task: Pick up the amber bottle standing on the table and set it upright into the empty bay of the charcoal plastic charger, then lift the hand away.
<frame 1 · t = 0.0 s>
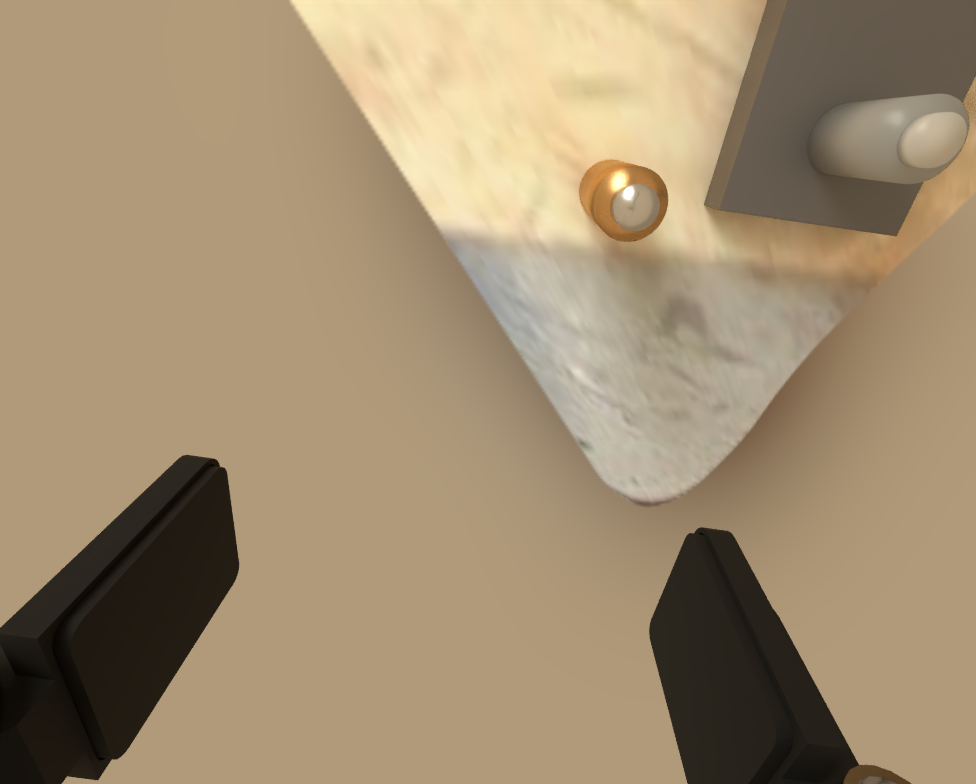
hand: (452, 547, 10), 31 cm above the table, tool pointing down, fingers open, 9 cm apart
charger: (858, 31, 31), on the table
amber bottle: (607, 190, 36), on the table
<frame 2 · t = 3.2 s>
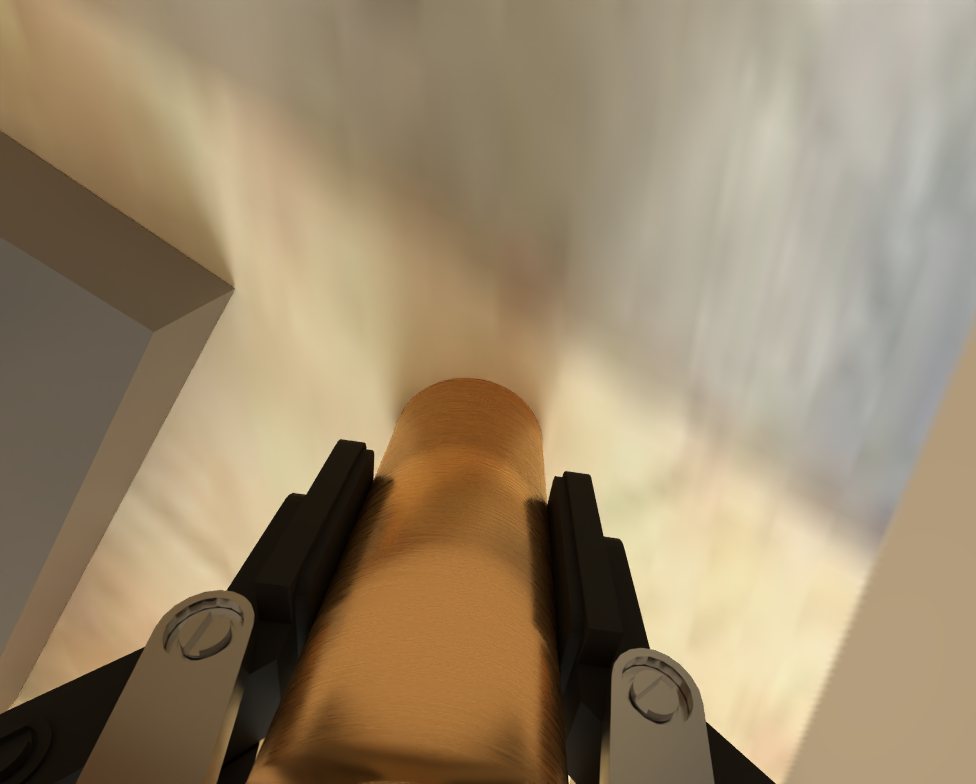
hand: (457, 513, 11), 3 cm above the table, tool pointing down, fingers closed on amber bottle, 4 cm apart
amber bottle: (468, 444, 14), on the table, touching gripper
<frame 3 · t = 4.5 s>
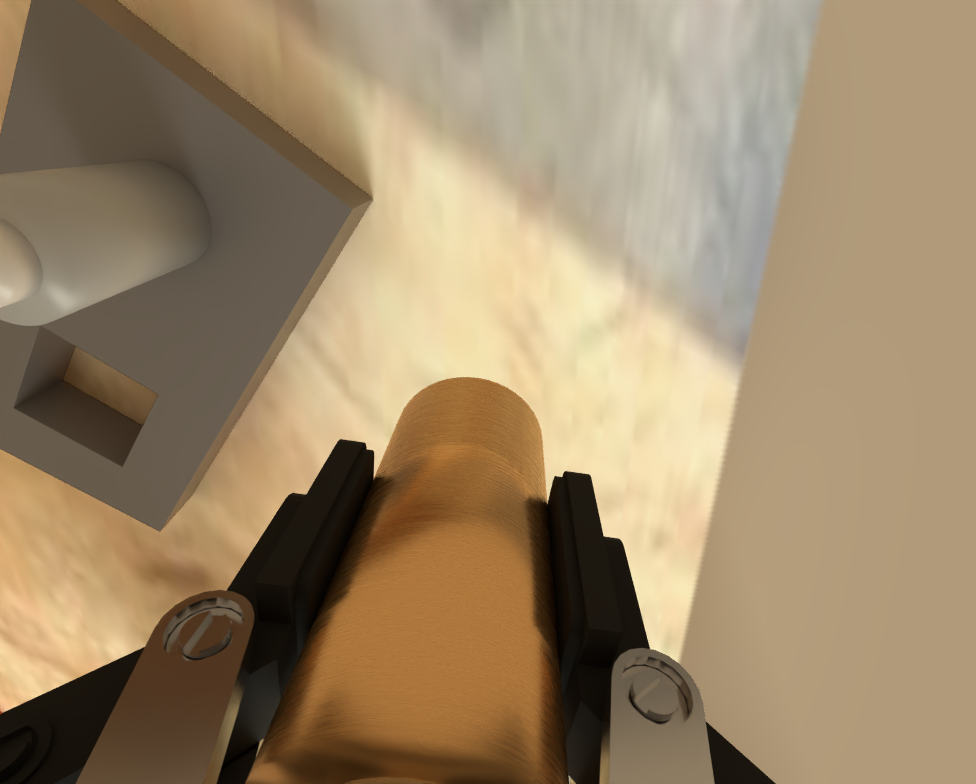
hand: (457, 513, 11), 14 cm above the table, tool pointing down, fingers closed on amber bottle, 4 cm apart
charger: (158, 304, 25), on the table
amber bottle: (468, 443, 14), point 12 cm above the table, touching gripper
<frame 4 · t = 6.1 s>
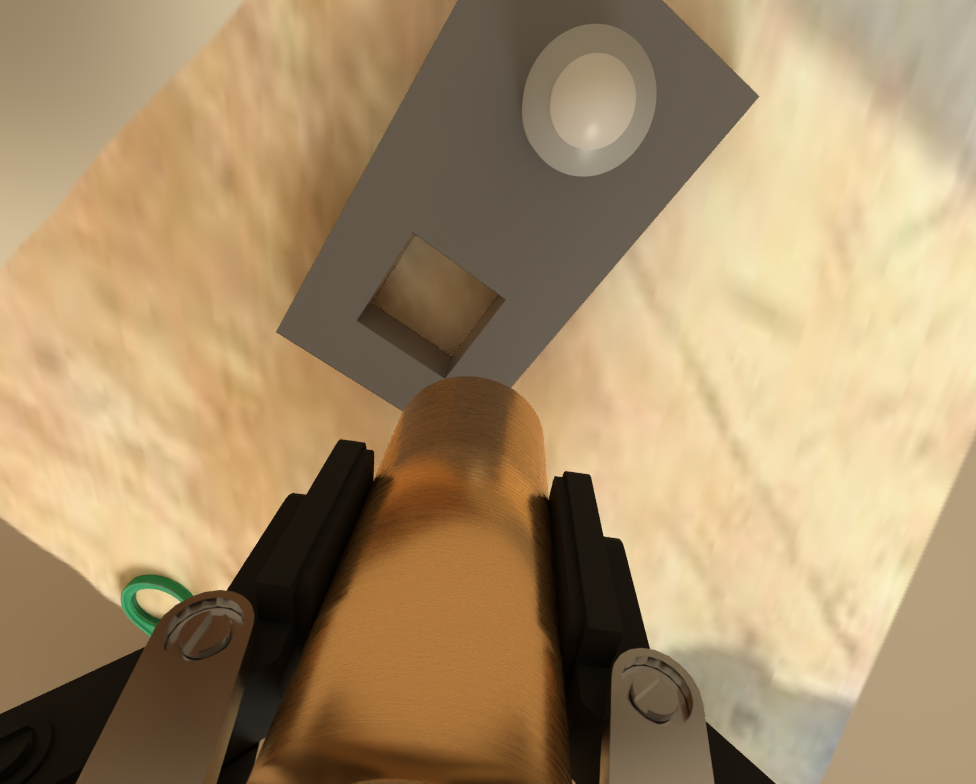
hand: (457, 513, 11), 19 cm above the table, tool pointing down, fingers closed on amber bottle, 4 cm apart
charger: (489, 219, 26), on the table
magnifying glass: (185, 630, 45), on the table
amber bottle: (470, 442, 14), point 16 cm above the table, touching gripper
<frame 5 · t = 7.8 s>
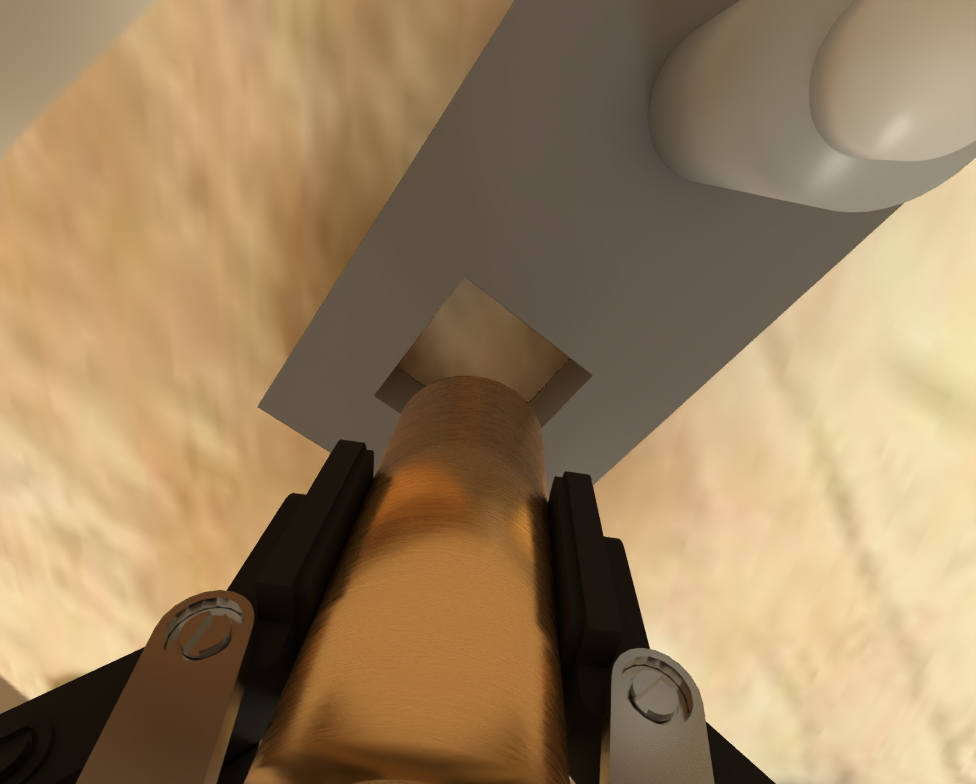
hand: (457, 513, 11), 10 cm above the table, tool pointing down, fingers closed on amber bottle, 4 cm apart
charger: (567, 257, 19), on the table
amber bottle: (469, 442, 14), point 8 cm above the table, touching gripper
when the fingers open (4 cm above the table, at t = 9.4 s): amber bottle drops 1 cm, resting in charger.
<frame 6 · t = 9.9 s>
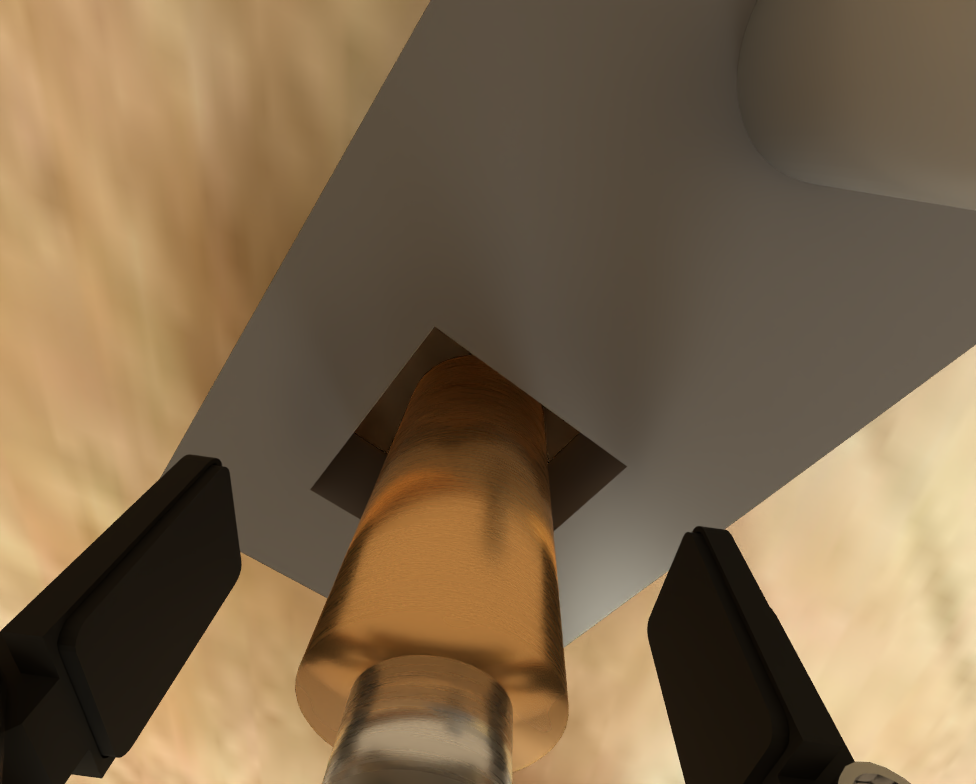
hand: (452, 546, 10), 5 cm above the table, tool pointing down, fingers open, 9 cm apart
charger: (587, 288, 13), on the table
amber bottle: (476, 416, 15), resting in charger
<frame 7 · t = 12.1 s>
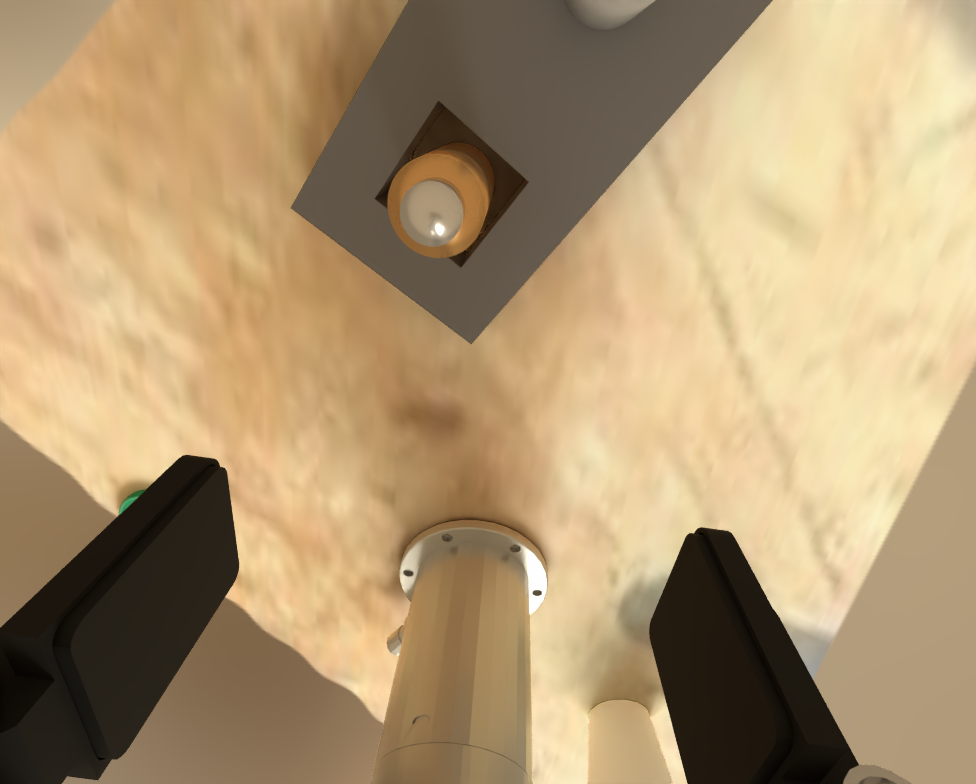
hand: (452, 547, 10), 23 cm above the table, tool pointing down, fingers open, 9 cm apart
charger: (515, 102, 26), on the table
foam cup: (618, 714, 53), on the table
amber bottle: (458, 182, 28), resting in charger
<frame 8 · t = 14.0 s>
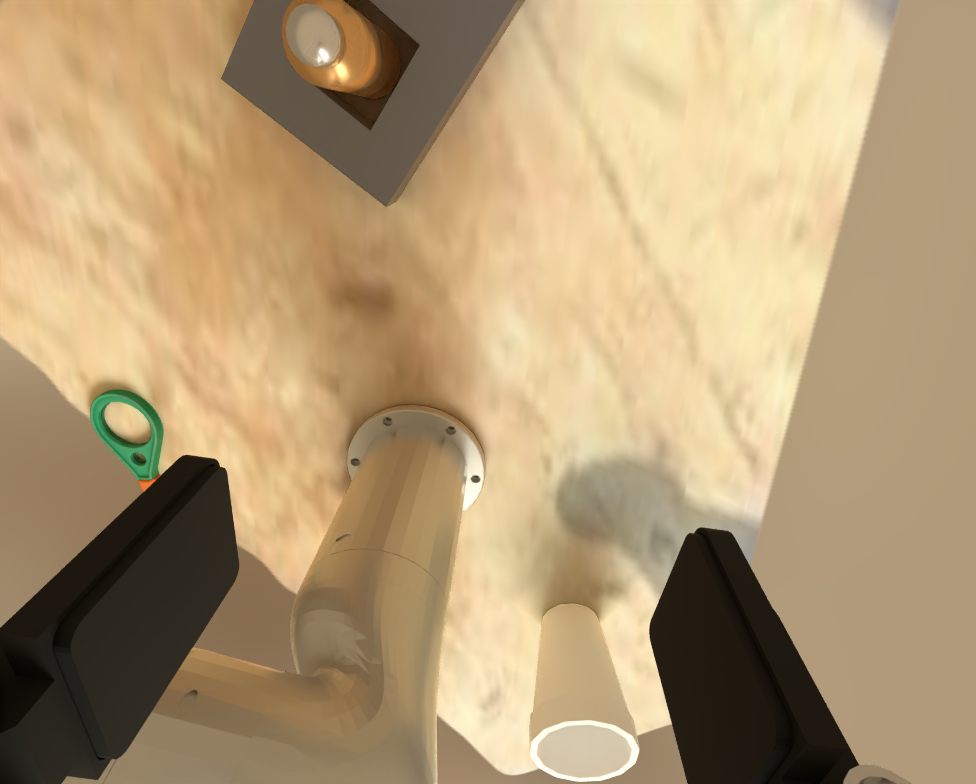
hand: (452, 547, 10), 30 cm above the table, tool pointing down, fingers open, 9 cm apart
foam cup: (569, 621, 55), on the table
magnifying glass: (149, 456, 49), on the table
amber bottle: (369, 62, 32), resting in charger
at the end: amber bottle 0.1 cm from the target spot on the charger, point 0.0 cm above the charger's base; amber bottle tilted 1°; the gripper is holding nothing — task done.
